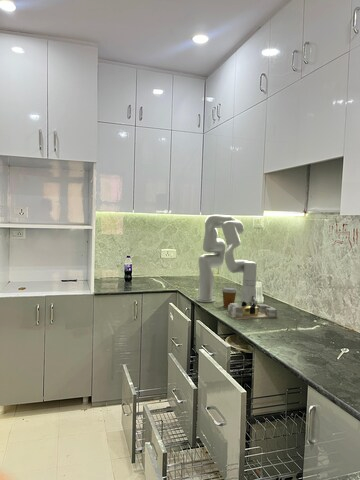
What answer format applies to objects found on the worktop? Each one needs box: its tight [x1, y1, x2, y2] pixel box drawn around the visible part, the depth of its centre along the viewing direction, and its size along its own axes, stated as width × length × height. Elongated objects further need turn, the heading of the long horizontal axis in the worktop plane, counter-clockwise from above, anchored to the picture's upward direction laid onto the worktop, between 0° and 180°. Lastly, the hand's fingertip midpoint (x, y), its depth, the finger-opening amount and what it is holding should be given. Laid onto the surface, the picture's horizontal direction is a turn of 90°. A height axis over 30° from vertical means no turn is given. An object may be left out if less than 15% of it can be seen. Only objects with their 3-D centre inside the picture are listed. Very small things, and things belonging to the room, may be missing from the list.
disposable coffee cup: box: [221, 286, 238, 309], centre depth 234 cm, size 10×10×12 cm
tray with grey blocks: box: [225, 302, 278, 321], centre depth 216 cm, size 14×26×7 cm, turn 109°
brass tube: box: [241, 305, 258, 315], centre depth 215 cm, size 4×15×4 cm, turn 109°
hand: (248, 311), depth 215 cm, fingers open, 9 cm apart
